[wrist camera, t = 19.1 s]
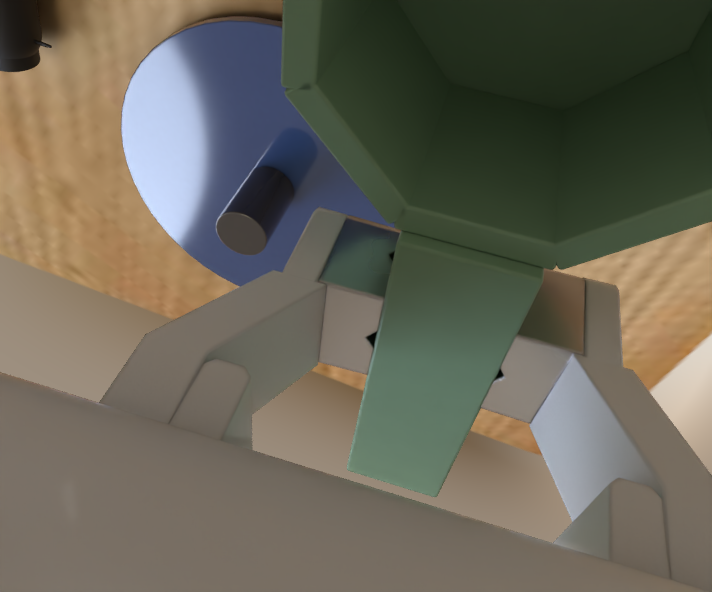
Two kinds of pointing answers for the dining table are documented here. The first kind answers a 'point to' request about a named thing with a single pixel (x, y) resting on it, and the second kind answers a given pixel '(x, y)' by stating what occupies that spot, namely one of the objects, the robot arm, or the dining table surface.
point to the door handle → (19, 35)
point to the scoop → (495, 175)
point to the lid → (229, 149)
